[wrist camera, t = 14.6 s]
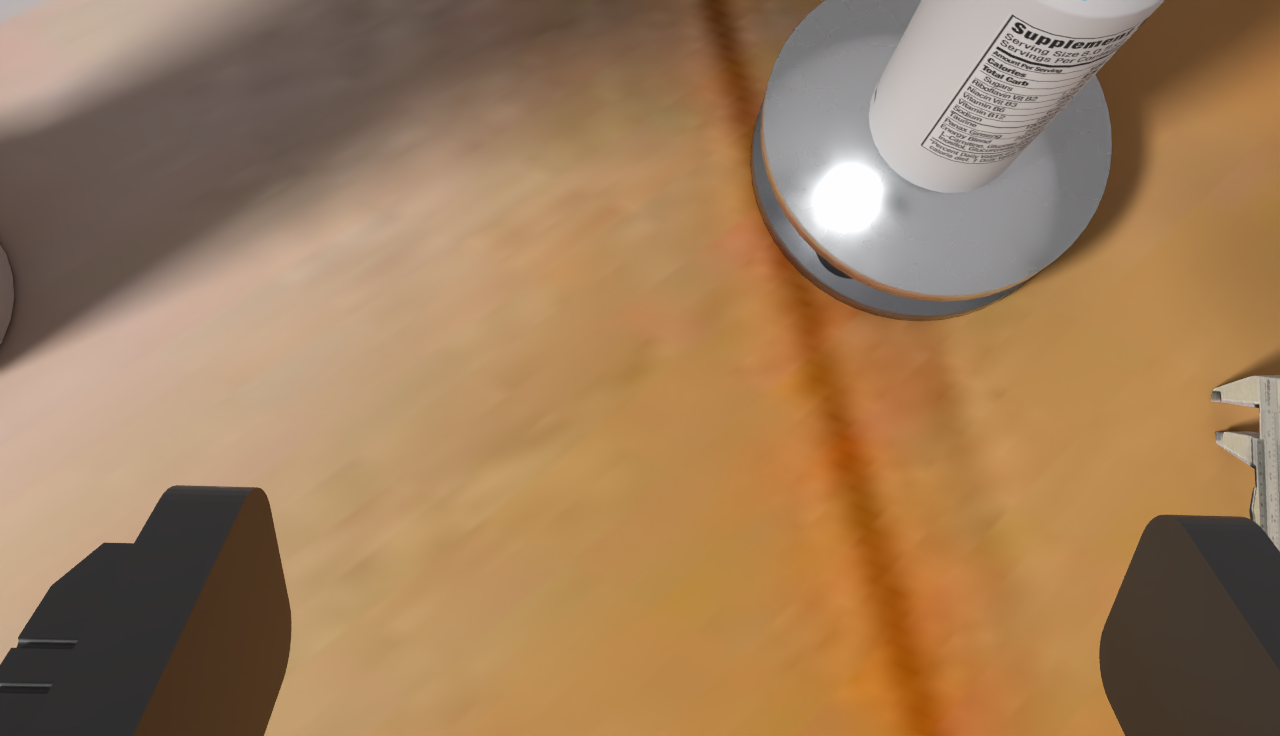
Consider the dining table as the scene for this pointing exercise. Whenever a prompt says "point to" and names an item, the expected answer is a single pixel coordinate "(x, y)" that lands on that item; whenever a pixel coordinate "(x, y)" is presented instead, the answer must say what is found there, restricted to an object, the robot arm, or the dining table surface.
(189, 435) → the dining table surface
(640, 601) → the dining table surface
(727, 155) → the dining table surface
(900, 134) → the energy drink can
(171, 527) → the robot arm
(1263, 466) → the caliper
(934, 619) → the dining table surface
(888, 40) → the stand
